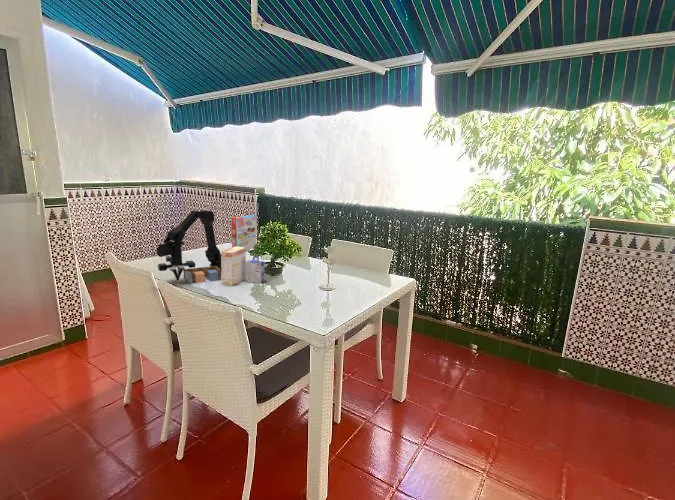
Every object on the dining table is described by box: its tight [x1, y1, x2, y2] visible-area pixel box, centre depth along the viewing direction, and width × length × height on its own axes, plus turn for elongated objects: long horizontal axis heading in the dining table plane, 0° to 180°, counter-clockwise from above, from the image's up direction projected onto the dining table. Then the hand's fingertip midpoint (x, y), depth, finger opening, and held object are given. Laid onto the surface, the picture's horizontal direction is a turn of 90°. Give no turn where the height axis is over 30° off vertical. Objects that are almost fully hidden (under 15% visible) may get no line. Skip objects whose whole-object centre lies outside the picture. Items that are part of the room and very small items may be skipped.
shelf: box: [182, 265, 222, 281], centre depth 220 cm, size 19×10×6 cm, turn 124°
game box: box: [231, 214, 257, 252], centre depth 294 cm, size 21×6×27 cm, turn 145°
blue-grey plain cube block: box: [206, 270, 220, 282], centre depth 221 cm, size 5×6×5 cm
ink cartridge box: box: [245, 256, 265, 284], centre depth 220 cm, size 10×6×14 cm, turn 78°
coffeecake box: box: [220, 246, 247, 287], centre depth 217 cm, size 15×7×20 cm, turn 160°
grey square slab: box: [185, 271, 193, 284], centre depth 214 cm, size 2×6×6 cm, turn 34°
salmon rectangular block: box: [192, 271, 206, 284], centre depth 217 cm, size 5×6×5 cm
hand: (177, 280), depth 211 cm, fingers closed
